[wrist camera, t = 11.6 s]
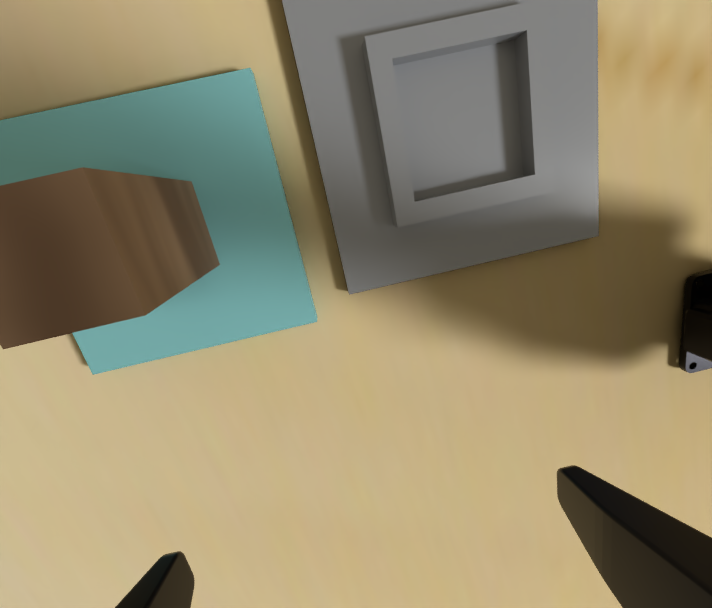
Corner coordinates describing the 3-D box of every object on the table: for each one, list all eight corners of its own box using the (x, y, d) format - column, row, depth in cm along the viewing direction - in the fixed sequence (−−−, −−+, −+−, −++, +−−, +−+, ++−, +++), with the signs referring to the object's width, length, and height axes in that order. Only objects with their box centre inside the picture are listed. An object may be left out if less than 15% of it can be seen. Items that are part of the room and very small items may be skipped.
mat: (253, 74, 16) (250, 67, 15) (317, 316, 20) (317, 321, 19) (-13, 130, 16) (-30, 126, 15) (101, 367, 19) (92, 374, 19)
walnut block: (191, 181, 16) (82, 167, 9) (219, 264, 18) (145, 315, 10) (105, 200, 16) (-81, 203, 9) (140, 283, 18) (3, 349, 10)
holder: (586, -77, 16) (615, -106, 14) (590, 234, 20) (613, 237, 19) (278, -14, 15) (274, -38, 14) (348, 291, 20) (350, 299, 18)
